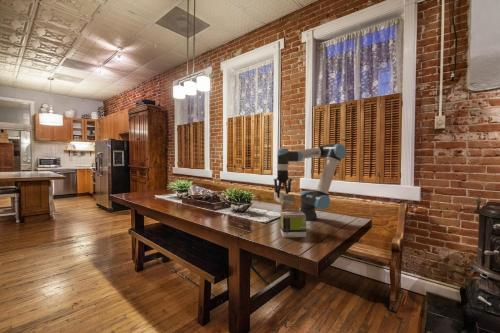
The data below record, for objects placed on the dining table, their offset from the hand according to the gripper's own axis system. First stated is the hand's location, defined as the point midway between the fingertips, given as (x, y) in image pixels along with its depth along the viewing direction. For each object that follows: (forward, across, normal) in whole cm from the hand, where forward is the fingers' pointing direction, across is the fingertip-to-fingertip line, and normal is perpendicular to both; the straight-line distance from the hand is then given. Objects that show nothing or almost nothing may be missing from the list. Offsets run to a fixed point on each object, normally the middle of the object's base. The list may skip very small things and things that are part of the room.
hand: (282, 202), depth 181 cm
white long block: (0, 0, +2) cm, 2 cm away
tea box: (+19, 0, -19) cm, 27 cm away
